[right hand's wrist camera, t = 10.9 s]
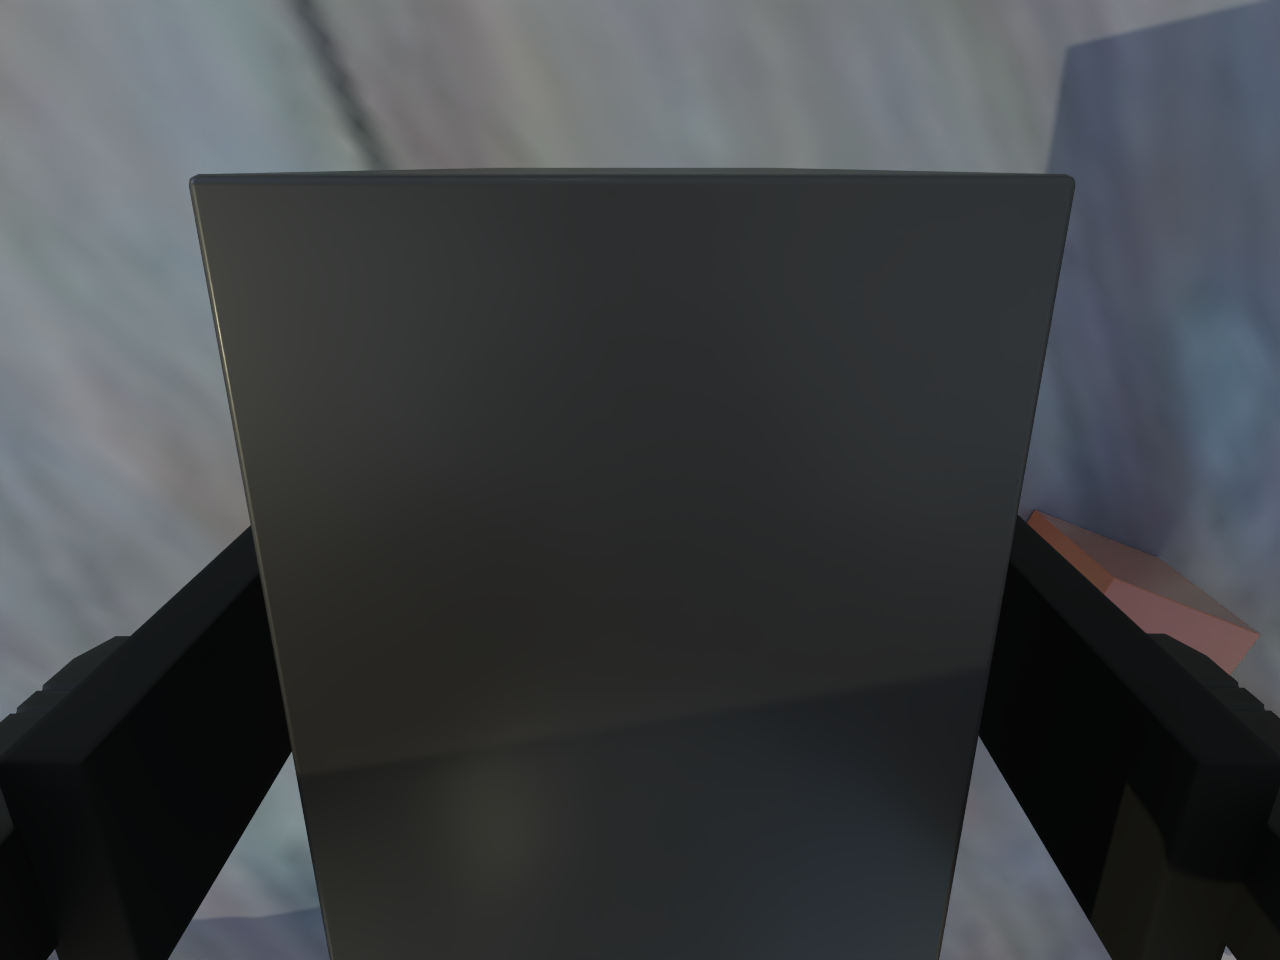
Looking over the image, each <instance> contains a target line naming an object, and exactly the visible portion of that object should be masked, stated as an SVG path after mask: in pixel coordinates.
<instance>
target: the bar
mask: <svg viewBox="0 0 1280 960" xmlns="http://www.w3.org/2000/svg"><path fill="white" fill-rule="evenodd" d="M189 189H190V194H191V200H192V205H193V211H194V216H195V222H196V227H197V233H198V238H199V243H200V249H201V254H202V260H203V265H204V271H205V276H206V282H207V287H208V293H209V298H210V304H211V309H212V315H213V320H214V326H215V331H216V337H217V342H218V348H219V353H220V359H221V364H222V370H223V375H224V381H225V386H226V392H227V397H228V403H229V408H230V414H231V419H232V425H233V430H234V435H235V441H236V446H237V452H238V457H239V463H240V468H241V474H242V479H243V485H244V490H245V496H246V501H247V507H248V512H249V518H250V523H251V529H252V534H253V540H254V545H255V551H256V556H257V562H258V567H259V573H260V578H261V584H262V589H263V595H264V600H265V606H266V611H267V616H268V622H269V627H270V633H271V638H272V644H273V649H274V655H275V660H276V666H277V671H278V677H279V682H280V688H281V693H282V699H283V704H284V710H285V715H286V721H287V726H288V732H289V737H290V743H291V748H292V754H293V759H294V765H295V770H296V776H297V781H298V787H299V792H300V798H301V803H302V808H303V814H304V819H305V825H306V830H307V836H308V841H309V847H310V852H311V858H312V863H313V869H314V874H315V880H316V885H317V891H318V896H319V902H320V907H321V913H322V918H323V924H324V929H325V935H326V940H327V946H328V951H329V957H330V960H939V956H940V951H941V945H942V939H943V934H944V928H945V922H946V917H947V911H948V905H949V900H950V894H951V888H952V882H953V877H954V871H955V865H956V860H957V854H958V848H959V843H960V837H961V831H962V826H963V820H964V814H965V809H966V803H967V797H968V792H969V786H970V780H971V775H972V769H973V763H974V757H975V752H976V746H977V740H978V735H979V729H980V723H981V718H982V712H983V706H984V701H985V695H986V689H987V684H988V678H989V672H990V667H991V661H992V655H993V650H994V644H995V638H996V632H997V627H998V621H999V615H1000V610H1001V604H1002V598H1003V593H1004V587H1005V581H1006V576H1007V570H1008V564H1009V559H1010V553H1011V547H1012V542H1013V536H1014V530H1015V525H1016V519H1017V513H1018V507H1019V502H1020V496H1021V490H1022V485H1023V479H1024V473H1025V468H1026V462H1027V456H1028V451H1029V445H1030V439H1031V434H1032V428H1033V422H1034V417H1035V411H1036V405H1037V400H1038V394H1039V388H1040V382H1041V377H1042V371H1043V365H1044V360H1045V354H1046V348H1047V343H1048V337H1049V331H1050V326H1051V320H1052V314H1053V309H1054V303H1055V297H1056V292H1057V286H1058V280H1059V275H1060V269H1061V263H1062V258H1063V252H1064V246H1065V240H1066V235H1067V229H1068V223H1069V218H1070V212H1071V206H1072V201H1073V195H1074V189H1075V181H1074V178H1073V177H1070V176H1068V175H1066V174H1027V173H981V172H935V171H888V170H842V169H796V168H474V169H427V170H379V171H331V172H284V173H236V174H198V175H196V176H194V177H192V178H190V182H189Z"/></svg>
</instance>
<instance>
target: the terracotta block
mask: <svg viewBox="0 0 1280 960" xmlns="http://www.w3.org/2000/svg"><path fill="white" fill-rule="evenodd" d="M1027 524H1028V525H1029V526H1030V527H1032V528H1033V529H1034V530H1035V531H1036V532H1037V533H1038V534H1039V535H1040V536H1041V537H1042V538H1043V539H1045V540H1046V541H1047V542H1048V543H1049V544H1050V545H1051V546H1052V547H1053V548H1054V549H1055V550H1057V551H1058V552H1059V553H1060V554H1061V555H1062V556H1063V557H1064V558H1065V559H1066V560H1067V561H1068V562H1070V563H1071V564H1072V565H1073V566H1074V567H1075V568H1076V569H1077V570H1078V571H1079V572H1080V573H1081V574H1083V575H1084V576H1085V577H1086V578H1087V579H1088V580H1089V581H1090V582H1091V583H1092V584H1093V585H1094V586H1096V587H1097V588H1098V589H1099V590H1100V591H1101V592H1102V593H1103V594H1104V595H1105V596H1106V597H1107V598H1109V599H1110V600H1111V601H1112V602H1113V603H1114V604H1115V605H1116V606H1117V607H1118V608H1119V609H1121V610H1122V611H1123V612H1124V613H1125V614H1126V615H1127V616H1128V617H1129V618H1130V619H1131V620H1132V621H1134V622H1135V623H1136V624H1137V625H1138V626H1139V627H1140V628H1141V629H1142V630H1143V631H1144V632H1145V633H1165V634H1167V635H1169V636H1171V637H1173V638H1174V639H1176V640H1178V641H1180V642H1182V643H1184V644H1186V645H1188V646H1190V647H1191V648H1193V649H1195V650H1197V651H1199V652H1201V653H1203V654H1205V655H1206V656H1208V657H1209V658H1210V659H1211V660H1213V661H1214V662H1215V663H1216V664H1217V665H1218V666H1220V667H1221V668H1222V669H1223V670H1224V671H1225V672H1227V673H1228V674H1229V675H1230V674H1231V673H1232V672H1233V671H1234V669H1235V668H1236V667H1237V665H1238V664H1239V663H1240V661H1241V660H1242V659H1243V657H1244V656H1245V655H1246V653H1247V652H1248V651H1249V649H1250V648H1251V647H1252V646H1253V644H1254V643H1255V642H1256V640H1257V639H1258V638H1259V636H1260V634H1259V633H1258V632H1257V631H1255V630H1254V629H1253V628H1251V627H1250V626H1249V625H1247V624H1246V623H1245V622H1244V621H1242V620H1241V619H1240V618H1238V617H1237V616H1236V615H1234V614H1233V613H1232V612H1230V611H1229V610H1228V609H1226V608H1225V607H1224V606H1222V605H1221V604H1220V603H1218V602H1217V601H1216V600H1214V599H1213V598H1212V597H1210V596H1209V595H1208V594H1206V593H1205V592H1204V591H1202V590H1201V589H1200V588H1198V587H1197V586H1196V585H1194V584H1193V583H1192V582H1190V581H1189V580H1188V579H1186V578H1185V577H1184V576H1182V575H1181V574H1180V573H1179V572H1177V571H1176V570H1175V569H1173V568H1172V567H1171V566H1169V565H1168V564H1167V563H1165V562H1164V561H1163V560H1161V559H1160V558H1158V557H1155V556H1152V555H1150V554H1147V553H1145V552H1142V551H1140V550H1137V549H1135V548H1132V547H1129V546H1127V545H1124V544H1122V543H1119V542H1117V541H1114V540H1112V539H1109V538H1106V537H1104V536H1101V535H1099V534H1096V533H1094V532H1091V531H1089V530H1086V529H1083V528H1081V527H1078V526H1076V525H1073V524H1071V523H1068V522H1066V521H1063V520H1060V519H1058V518H1055V517H1053V516H1050V515H1048V514H1045V513H1043V512H1040V511H1037V510H1034V512H1033V513H1032V515H1031V517H1030V518H1029V520H1028V522H1027Z"/></svg>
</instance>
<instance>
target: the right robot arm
mask: <svg viewBox="0 0 1280 960" xmlns="http://www.w3.org/2000/svg"><path fill="white" fill-rule="evenodd" d="M979 737H980V738H981V740H982V742H983V743H984V745H985V747H986V748H987V750H988V752H989V753H990V755H991V757H992V758H993V760H994V762H995V764H996V765H997V767H998V769H999V770H1000V772H1001V774H1002V775H1003V777H1004V779H1005V780H1006V782H1007V784H1008V785H1009V787H1010V789H1011V790H1012V792H1013V794H1014V795H1015V797H1016V799H1017V800H1018V802H1019V804H1020V806H1021V807H1022V809H1023V811H1024V812H1025V814H1026V816H1027V817H1028V819H1029V821H1030V822H1031V824H1032V826H1033V827H1034V829H1035V831H1036V832H1037V834H1038V836H1039V837H1040V839H1041V841H1042V842H1043V844H1044V846H1045V847H1046V849H1047V851H1048V853H1049V854H1050V856H1051V858H1052V859H1053V861H1054V863H1055V864H1056V866H1057V868H1058V869H1059V871H1060V873H1061V874H1062V876H1063V878H1064V879H1065V881H1066V883H1067V884H1068V886H1069V888H1070V889H1071V891H1072V893H1073V895H1074V896H1075V898H1076V900H1077V901H1078V903H1079V905H1080V906H1081V908H1082V910H1083V911H1084V913H1085V915H1086V916H1087V918H1088V920H1089V921H1090V923H1091V925H1092V926H1093V928H1094V930H1095V931H1096V933H1097V935H1098V936H1099V938H1100V940H1101V942H1102V943H1103V945H1104V947H1105V948H1106V950H1107V952H1108V953H1109V955H1110V957H1111V958H1112V960H1221V958H1222V955H1223V952H1224V949H1225V947H1226V946H1227V947H1228V949H1229V950H1230V951H1231V953H1232V954H1233V955H1234V957H1235V958H1236V959H1237V960H1280V718H1279V717H1278V716H1276V715H1275V714H1274V713H1273V712H1272V711H1265V709H1264V704H1262V703H1261V702H1260V701H1259V700H1258V699H1257V698H1256V697H1254V696H1253V695H1252V694H1251V693H1250V692H1249V691H1247V690H1246V689H1245V688H1239V686H1238V682H1237V681H1236V680H1235V679H1234V678H1232V677H1231V676H1230V675H1229V674H1228V673H1227V672H1225V671H1224V670H1223V669H1222V668H1221V667H1220V666H1218V665H1217V664H1216V663H1215V662H1214V661H1213V660H1211V659H1210V658H1209V657H1208V656H1206V655H1205V654H1203V653H1201V652H1199V651H1197V650H1195V649H1193V648H1191V647H1190V646H1188V645H1186V644H1184V643H1182V642H1180V641H1178V640H1176V639H1174V638H1173V637H1171V636H1169V635H1167V634H1165V633H1145V632H1144V631H1143V630H1142V629H1141V628H1140V627H1139V626H1138V625H1137V624H1136V623H1135V622H1134V621H1132V620H1131V619H1130V618H1129V617H1128V616H1127V615H1126V614H1125V613H1124V612H1123V611H1122V610H1121V609H1119V608H1118V607H1117V606H1116V605H1115V604H1114V603H1113V602H1112V601H1111V600H1110V599H1109V598H1107V597H1106V596H1105V595H1104V594H1103V593H1102V592H1101V591H1100V590H1099V589H1098V588H1097V587H1096V586H1094V585H1093V584H1092V583H1091V582H1090V581H1089V580H1088V579H1087V578H1086V577H1085V576H1084V575H1083V574H1081V573H1080V572H1079V571H1078V570H1077V569H1076V568H1075V567H1074V566H1073V565H1072V564H1071V563H1070V562H1068V561H1067V560H1066V559H1065V558H1064V557H1063V556H1062V555H1061V554H1060V553H1059V552H1058V551H1057V550H1055V549H1054V548H1053V547H1052V546H1051V545H1050V544H1049V543H1048V542H1047V541H1046V540H1045V539H1043V538H1042V537H1041V536H1040V535H1039V534H1038V533H1037V532H1036V531H1035V530H1034V529H1033V528H1032V527H1030V526H1029V525H1028V524H1027V523H1026V522H1025V521H1024V520H1023V519H1022V518H1021V517H1020V516H1019V515H1017V519H1016V525H1015V530H1014V536H1013V542H1012V547H1011V553H1010V559H1009V564H1008V570H1007V576H1006V581H1005V587H1004V593H1003V598H1002V604H1001V610H1000V615H999V621H998V627H997V632H996V638H995V644H994V650H993V655H992V661H991V667H990V672H989V678H988V684H987V689H986V695H985V701H984V706H983V712H982V718H981V723H980V729H979ZM291 752H292V748H291V743H290V737H289V732H288V726H287V721H286V715H285V710H284V704H283V699H282V693H281V688H280V682H279V677H278V671H277V666H276V660H275V655H274V649H273V644H272V638H271V633H270V627H269V622H268V616H267V611H266V606H265V600H264V595H263V589H262V584H261V578H260V573H259V567H258V562H257V556H256V551H255V545H254V540H253V534H252V529H251V526H250V527H248V528H247V529H246V530H245V531H244V532H243V533H242V534H241V535H240V536H239V537H238V538H236V539H235V540H234V541H233V542H232V543H231V544H230V545H229V546H228V547H227V548H226V549H225V550H223V551H222V552H221V553H220V554H219V555H218V556H217V557H216V558H215V559H214V560H213V561H212V562H210V563H209V564H208V565H207V566H206V567H205V568H204V569H203V570H202V571H201V572H200V573H199V574H197V575H196V576H195V577H194V578H193V579H192V580H191V581H190V582H189V583H188V584H187V585H186V586H184V587H183V588H182V589H181V590H180V591H179V592H178V593H177V594H176V595H175V596H174V597H172V598H171V599H170V600H169V601H168V602H167V603H166V604H165V605H164V606H163V607H162V608H161V609H159V610H158V611H157V612H156V613H155V614H154V615H153V616H152V617H151V618H150V619H149V620H148V621H146V622H145V623H144V624H143V625H142V626H141V627H140V628H139V629H138V630H137V631H136V632H135V633H133V634H132V635H131V636H115V637H113V638H112V639H110V640H108V641H106V642H104V643H102V644H100V645H99V646H97V647H95V648H93V649H91V650H89V651H87V652H85V653H84V654H82V655H80V656H78V657H76V658H74V659H73V660H72V661H70V662H69V663H68V664H67V665H66V666H65V667H64V668H62V669H61V670H60V671H59V672H58V673H57V674H55V675H54V676H53V677H52V678H51V679H50V680H49V681H47V682H46V683H45V684H44V685H43V689H42V691H36V692H35V693H34V694H32V695H31V696H30V697H29V698H28V699H27V700H26V701H24V702H23V703H22V704H21V705H20V706H19V707H18V708H17V712H16V714H9V715H8V716H7V717H6V718H5V719H4V720H3V721H1V722H0V960H47V959H48V957H49V956H50V954H51V953H52V952H53V950H54V949H55V950H56V952H57V955H58V958H59V960H168V958H169V957H170V955H171V953H172V952H173V950H174V948H175V947H176V945H177V943H178V942H179V940H180V938H181V936H182V935H183V933H184V931H185V930H186V928H187V926H188V925H189V923H190V921H191V920H192V918H193V916H194V915H195V913H196V911H197V910H198V908H199V906H200V905H201V903H202V901H203V900H204V898H205V896H206V894H207V893H208V891H209V889H210V888H211V886H212V884H213V883H214V881H215V879H216V878H217V876H218V874H219V873H220V871H221V869H222V868H223V866H224V864H225V863H226V861H227V859H228V858H229V856H230V854H231V852H232V851H233V849H234V847H235V846H236V844H237V842H238V841H239V839H240V837H241V836H242V834H243V832H244V831H245V829H246V827H247V826H248V824H249V822H250V821H251V819H252V817H253V816H254V814H255V812H256V811H257V809H258V807H259V805H260V804H261V802H262V800H263V799H264V797H265V795H266V794H267V792H268V790H269V789H270V787H271V785H272V784H273V782H274V780H275V779H276V777H277V775H278V774H279V772H280V770H281V769H282V767H283V765H284V763H285V762H286V760H287V758H288V757H289V755H290V753H291Z"/></svg>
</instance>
